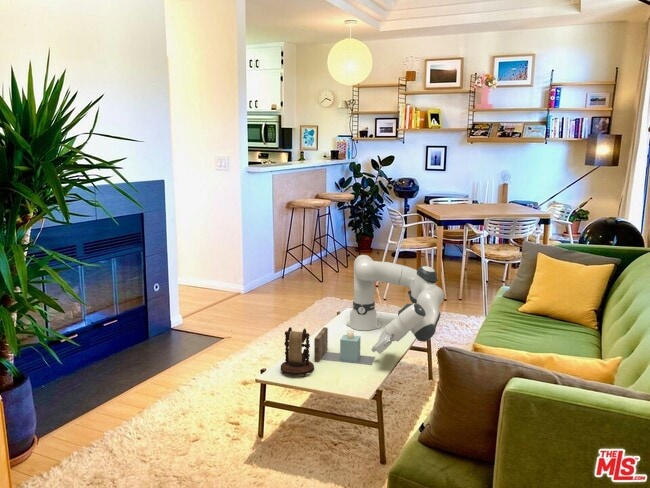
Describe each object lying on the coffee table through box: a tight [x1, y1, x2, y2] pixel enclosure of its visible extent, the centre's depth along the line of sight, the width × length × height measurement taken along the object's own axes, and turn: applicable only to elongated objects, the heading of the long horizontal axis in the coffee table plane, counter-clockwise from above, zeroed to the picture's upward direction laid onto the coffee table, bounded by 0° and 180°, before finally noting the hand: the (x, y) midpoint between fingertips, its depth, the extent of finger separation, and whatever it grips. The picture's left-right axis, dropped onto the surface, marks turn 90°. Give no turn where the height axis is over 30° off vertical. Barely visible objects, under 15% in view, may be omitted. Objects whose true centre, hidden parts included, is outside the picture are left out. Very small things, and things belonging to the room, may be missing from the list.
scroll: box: [280, 327, 315, 378], centre depth 236 cm, size 15×15×20 cm
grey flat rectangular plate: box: [320, 351, 376, 366], centre depth 250 cm, size 10×24×1 cm, turn 75°
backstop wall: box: [313, 327, 329, 363], centre depth 253 cm, size 16×2×12 cm, turn 165°
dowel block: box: [339, 330, 361, 362], centre depth 249 cm, size 7×8×13 cm
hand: (372, 350), depth 246 cm, fingers closed
